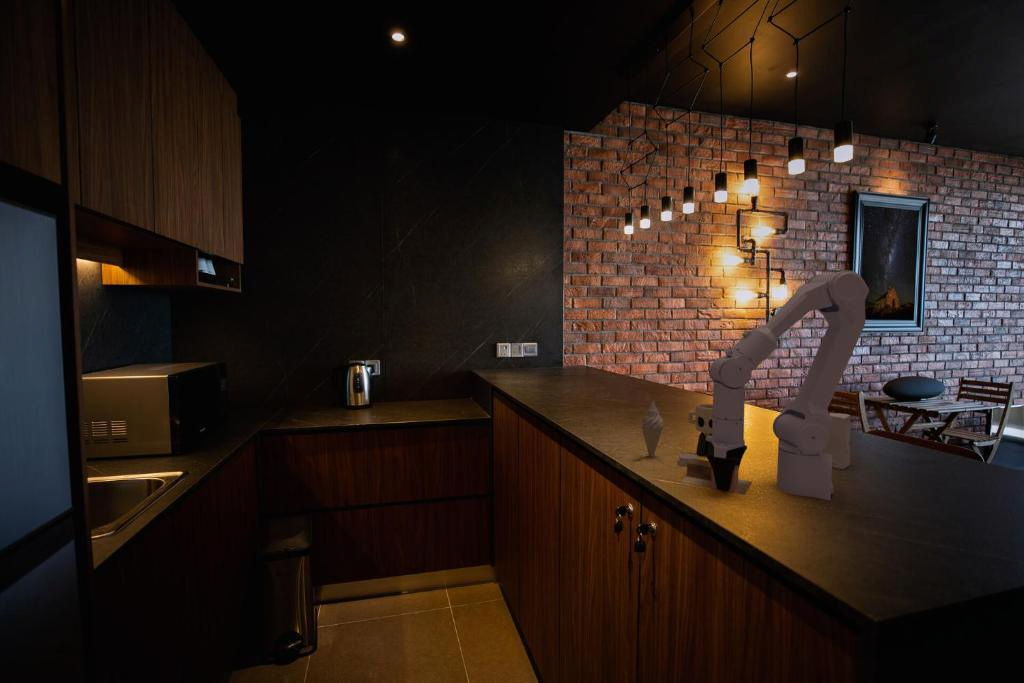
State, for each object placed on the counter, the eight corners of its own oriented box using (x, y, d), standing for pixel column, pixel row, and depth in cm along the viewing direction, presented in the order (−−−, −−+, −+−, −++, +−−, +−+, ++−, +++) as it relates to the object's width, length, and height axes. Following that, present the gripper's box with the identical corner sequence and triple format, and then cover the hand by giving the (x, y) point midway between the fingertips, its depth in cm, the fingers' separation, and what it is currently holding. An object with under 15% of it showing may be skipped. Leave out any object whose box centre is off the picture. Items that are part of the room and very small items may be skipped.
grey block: (697, 467, 112) (697, 454, 112) (698, 472, 109) (698, 459, 108) (678, 465, 114) (679, 453, 114) (679, 470, 110) (679, 457, 110)
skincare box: (844, 470, 111) (846, 418, 111) (821, 465, 114) (823, 415, 114) (850, 464, 115) (852, 414, 115) (828, 460, 119) (830, 411, 118)
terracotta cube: (737, 486, 96) (738, 465, 96) (733, 492, 93) (734, 471, 93) (715, 482, 99) (716, 462, 99) (711, 488, 95) (711, 467, 95)
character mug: (682, 456, 120) (684, 405, 120) (691, 450, 126) (693, 401, 125) (729, 465, 114) (730, 410, 113) (736, 458, 119) (738, 406, 119)
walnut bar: (726, 476, 102) (726, 464, 102) (721, 482, 99) (722, 469, 99) (692, 470, 106) (692, 458, 106) (686, 476, 103) (687, 463, 103)
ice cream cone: (657, 464, 114) (659, 401, 113) (637, 460, 117) (638, 399, 116) (665, 459, 118) (666, 399, 117) (645, 456, 121) (646, 396, 120)
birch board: (752, 486, 100) (752, 481, 99) (744, 499, 92) (744, 494, 92) (692, 475, 106) (692, 470, 106) (680, 486, 99) (680, 481, 99)
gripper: (715, 409, 103) (713, 471, 104) (697, 421, 92) (696, 491, 92) (751, 413, 99) (749, 477, 100) (738, 426, 88) (736, 499, 88)
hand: (726, 484), depth 96 cm, fingers open, 6 cm apart
